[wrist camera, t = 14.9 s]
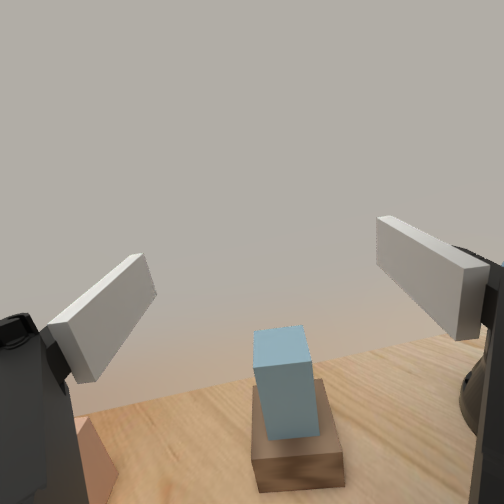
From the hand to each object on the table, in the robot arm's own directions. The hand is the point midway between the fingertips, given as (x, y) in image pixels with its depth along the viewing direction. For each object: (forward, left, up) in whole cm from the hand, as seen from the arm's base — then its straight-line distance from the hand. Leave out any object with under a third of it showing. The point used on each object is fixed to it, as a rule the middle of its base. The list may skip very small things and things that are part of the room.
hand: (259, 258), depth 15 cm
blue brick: (0, -11, -26) cm, 28 cm away
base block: (0, -11, -32) cm, 34 cm away
